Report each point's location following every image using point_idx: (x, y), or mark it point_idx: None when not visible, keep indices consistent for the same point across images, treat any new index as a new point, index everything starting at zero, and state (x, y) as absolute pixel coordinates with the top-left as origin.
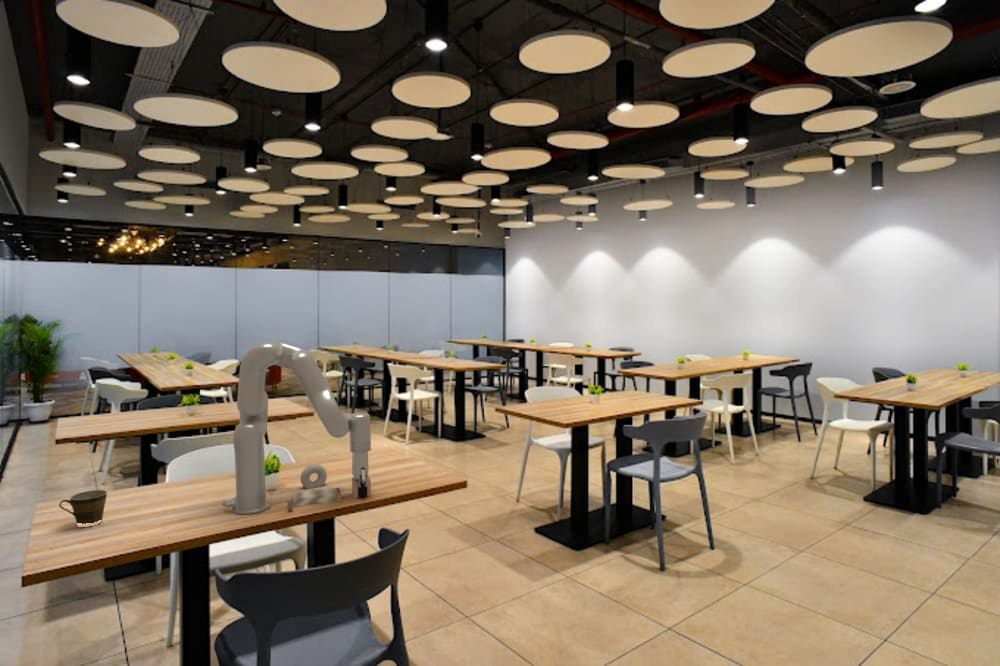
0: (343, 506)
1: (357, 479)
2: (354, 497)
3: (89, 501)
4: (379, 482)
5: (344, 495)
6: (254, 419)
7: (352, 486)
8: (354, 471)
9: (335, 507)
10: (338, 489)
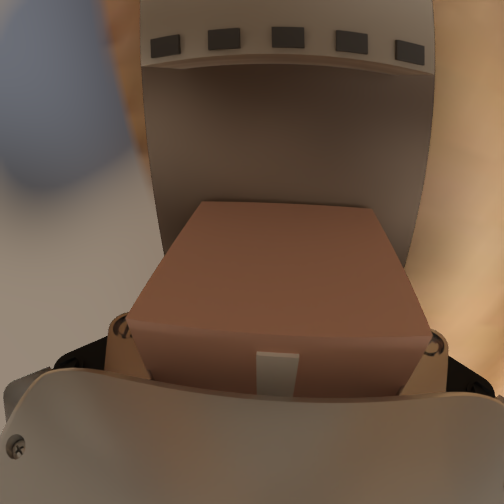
0: (126, 93)
1: (257, 386)
2: (200, 207)
3: None
4: (495, 370)
5: (443, 144)
6: None
7: (347, 252)
8: (42, 495)
9: (124, 30)
10: (337, 42)
